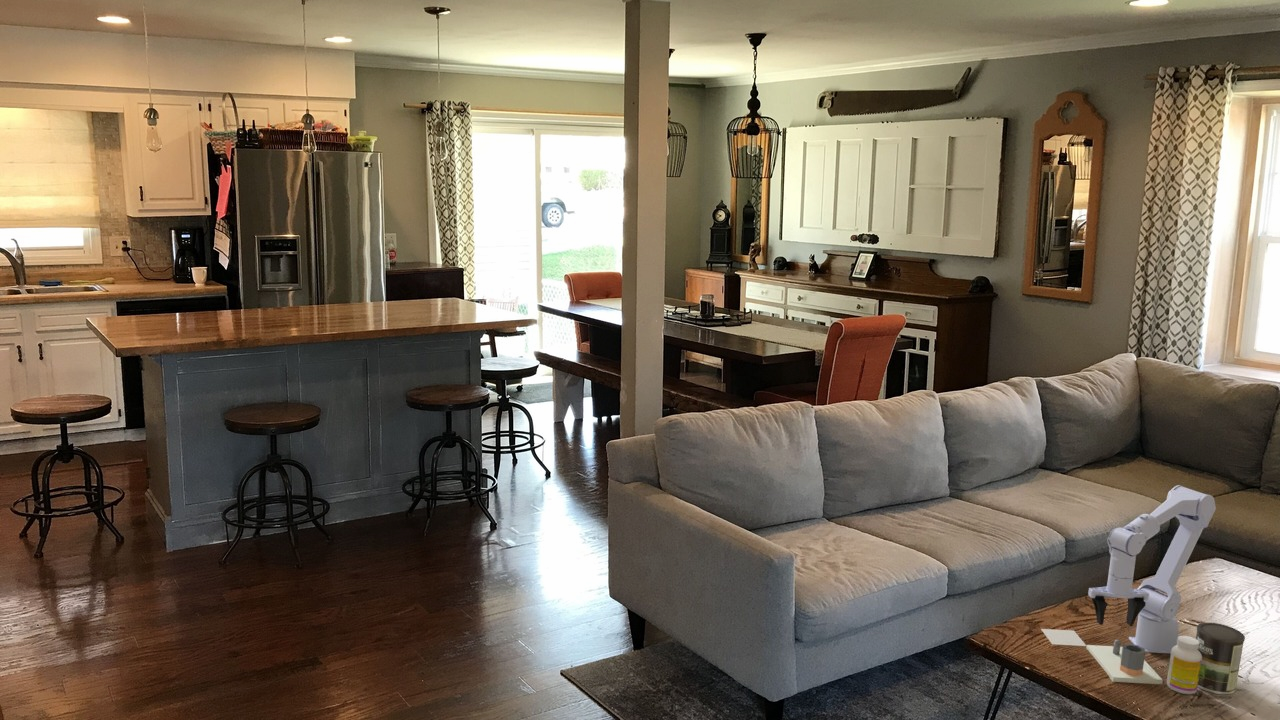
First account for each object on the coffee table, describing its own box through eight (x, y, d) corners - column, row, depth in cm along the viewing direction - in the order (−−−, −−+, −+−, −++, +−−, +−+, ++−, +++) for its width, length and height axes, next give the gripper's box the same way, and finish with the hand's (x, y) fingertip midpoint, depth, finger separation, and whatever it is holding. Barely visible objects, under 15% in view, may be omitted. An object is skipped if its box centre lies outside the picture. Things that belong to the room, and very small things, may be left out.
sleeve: (1130, 664, 253) (1133, 642, 252) (1146, 673, 249) (1149, 651, 248) (1115, 667, 252) (1118, 645, 250) (1131, 676, 247) (1134, 654, 246)
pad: (1073, 631, 273) (1074, 630, 273) (1086, 647, 264) (1086, 646, 264) (1040, 630, 274) (1040, 628, 274) (1052, 645, 265) (1052, 644, 265)
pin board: (1132, 651, 263) (1134, 633, 262) (1162, 684, 246) (1164, 665, 245) (1086, 649, 263) (1088, 631, 262) (1112, 681, 247) (1115, 663, 246)
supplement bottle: (1200, 697, 241) (1208, 648, 238) (1171, 693, 242) (1178, 644, 240) (1191, 683, 247) (1198, 635, 245) (1162, 680, 248) (1169, 632, 246)
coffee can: (1206, 695, 242) (1214, 641, 239) (1180, 674, 252) (1187, 622, 249) (1246, 694, 243) (1254, 641, 240) (1218, 673, 253) (1226, 622, 250)
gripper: (1142, 569, 259) (1135, 617, 261) (1086, 567, 259) (1080, 615, 262) (1155, 580, 252) (1148, 630, 254) (1097, 578, 252) (1091, 627, 255)
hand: (1114, 623), depth 258 cm, fingers open, 7 cm apart
